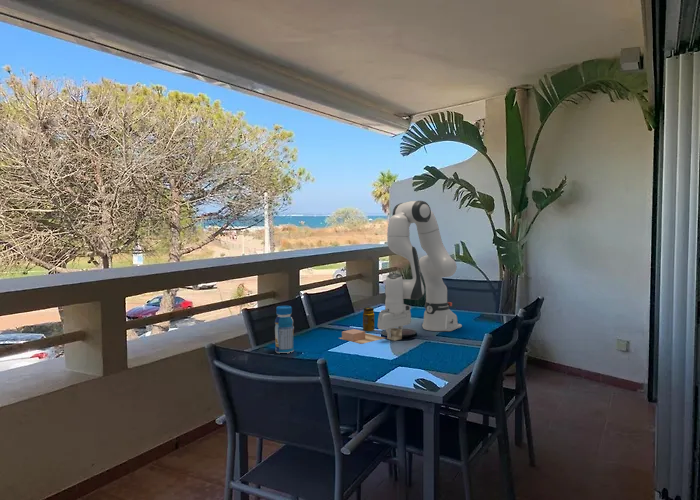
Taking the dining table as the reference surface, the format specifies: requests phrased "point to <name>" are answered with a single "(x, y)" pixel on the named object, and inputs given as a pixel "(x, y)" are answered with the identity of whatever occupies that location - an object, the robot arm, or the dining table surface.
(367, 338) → the cork placemat
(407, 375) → the dining table surface
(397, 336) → the maple cube
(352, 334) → the terracotta block
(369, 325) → the condiment
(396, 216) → the robot arm
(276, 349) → the beverage bottle
